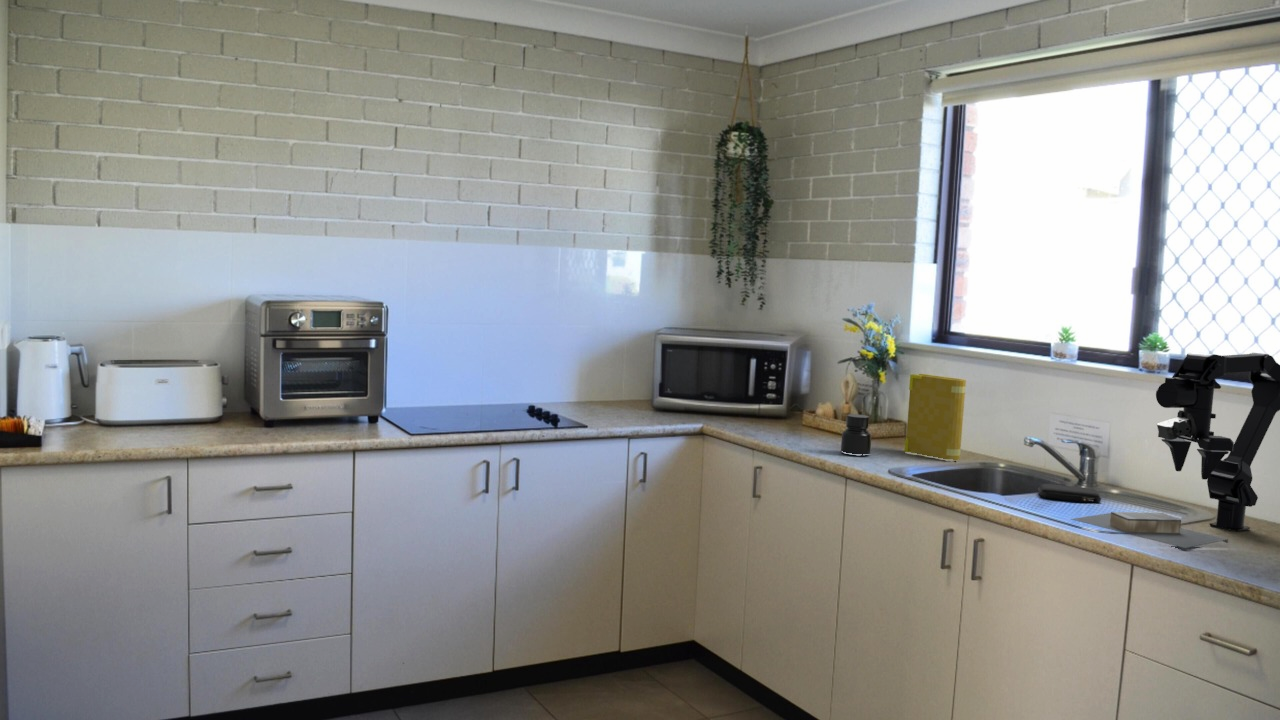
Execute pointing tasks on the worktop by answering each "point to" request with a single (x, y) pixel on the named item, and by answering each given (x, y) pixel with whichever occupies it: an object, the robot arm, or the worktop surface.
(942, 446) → the book
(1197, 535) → the mat
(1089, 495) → the carrying case or bag
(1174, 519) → the tan wooden block
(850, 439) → the ink bottle
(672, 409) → the worktop surface
